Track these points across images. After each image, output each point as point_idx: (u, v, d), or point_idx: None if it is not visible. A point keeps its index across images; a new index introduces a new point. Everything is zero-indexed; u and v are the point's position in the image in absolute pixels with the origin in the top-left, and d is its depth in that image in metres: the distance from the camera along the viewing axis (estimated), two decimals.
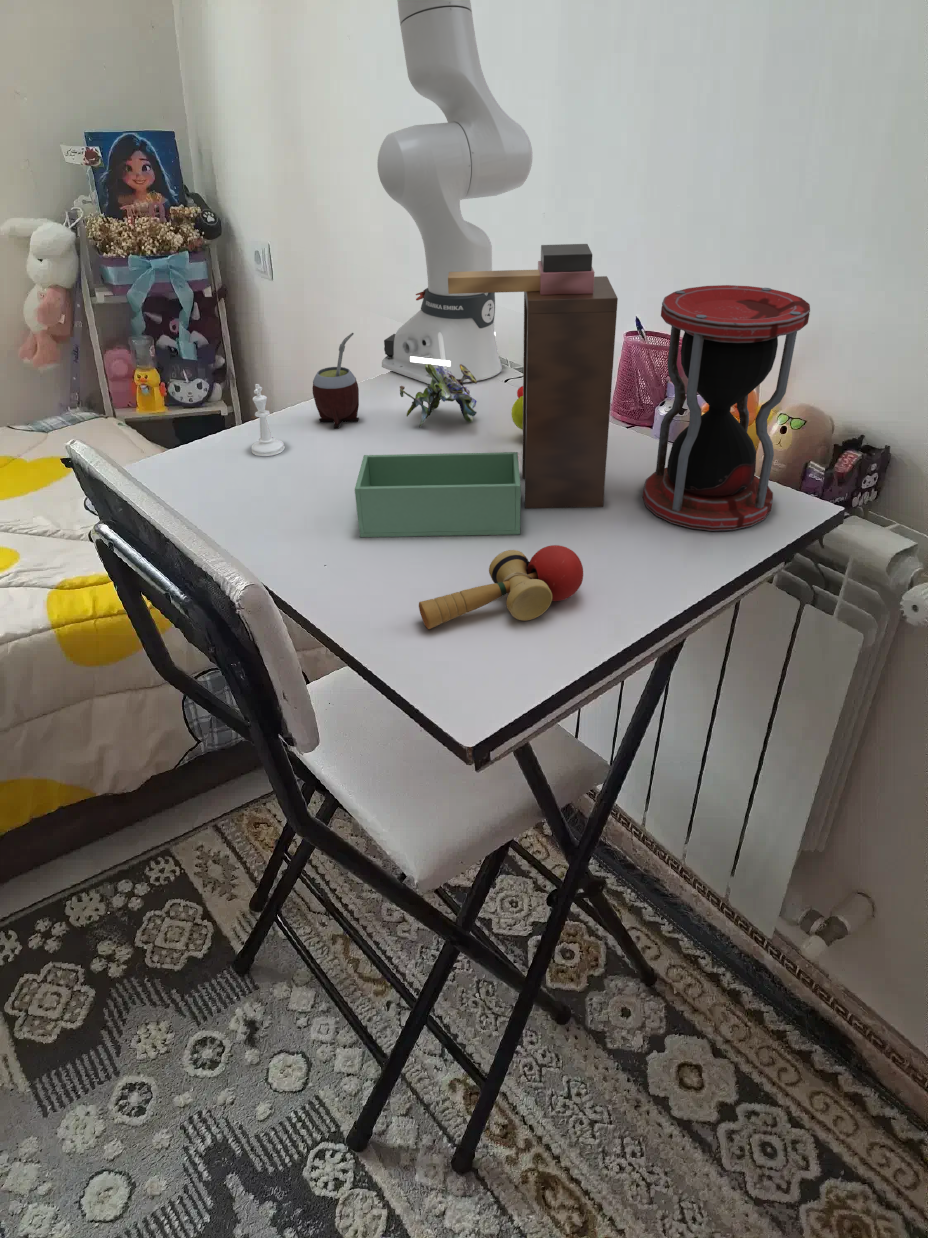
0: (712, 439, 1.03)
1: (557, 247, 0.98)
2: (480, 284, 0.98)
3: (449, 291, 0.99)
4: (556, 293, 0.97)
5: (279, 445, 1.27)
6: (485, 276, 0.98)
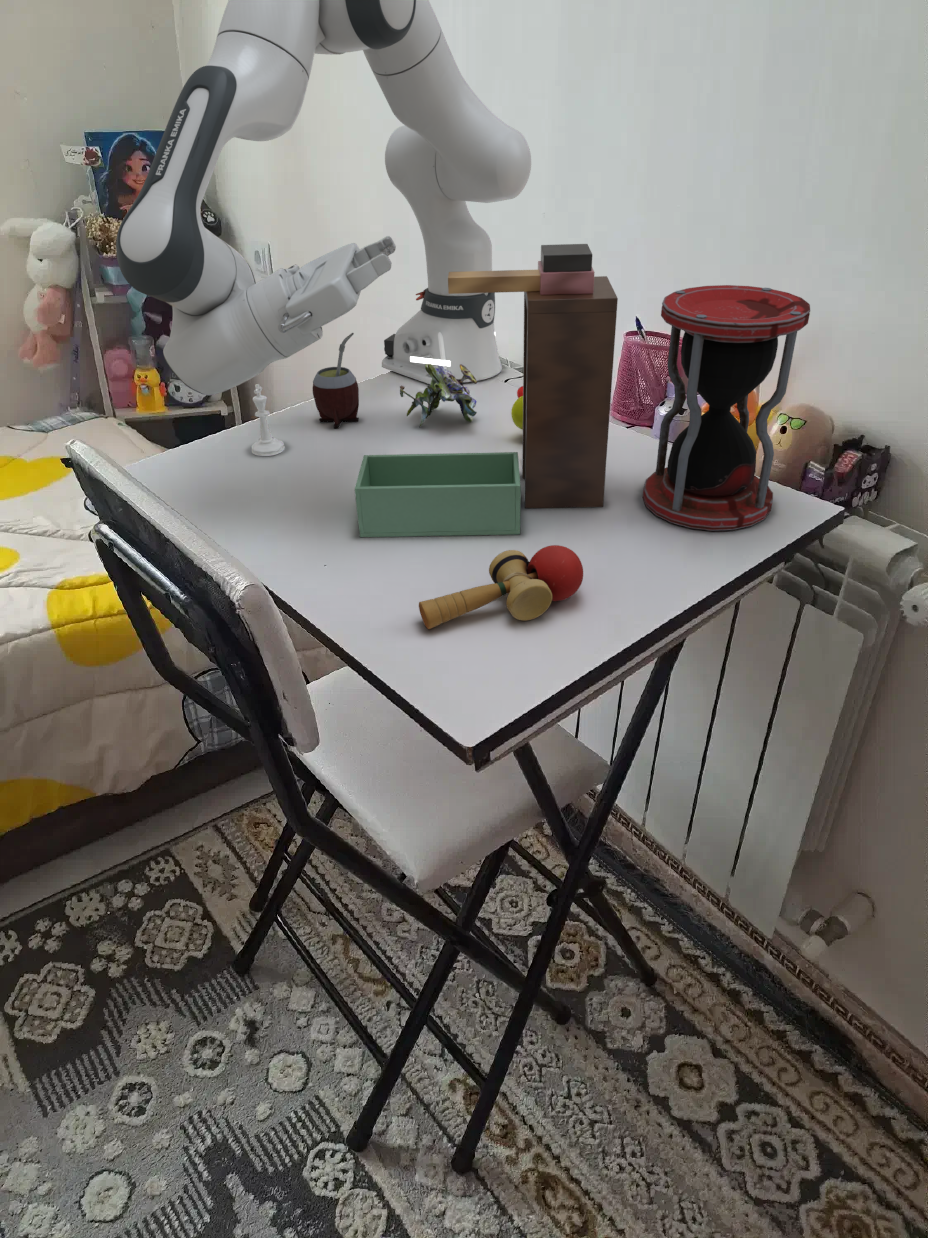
0: (712, 439, 1.03)
1: (557, 247, 0.98)
2: (480, 284, 0.98)
3: (449, 291, 0.99)
4: (556, 293, 0.97)
5: (279, 445, 1.27)
6: (485, 276, 0.98)
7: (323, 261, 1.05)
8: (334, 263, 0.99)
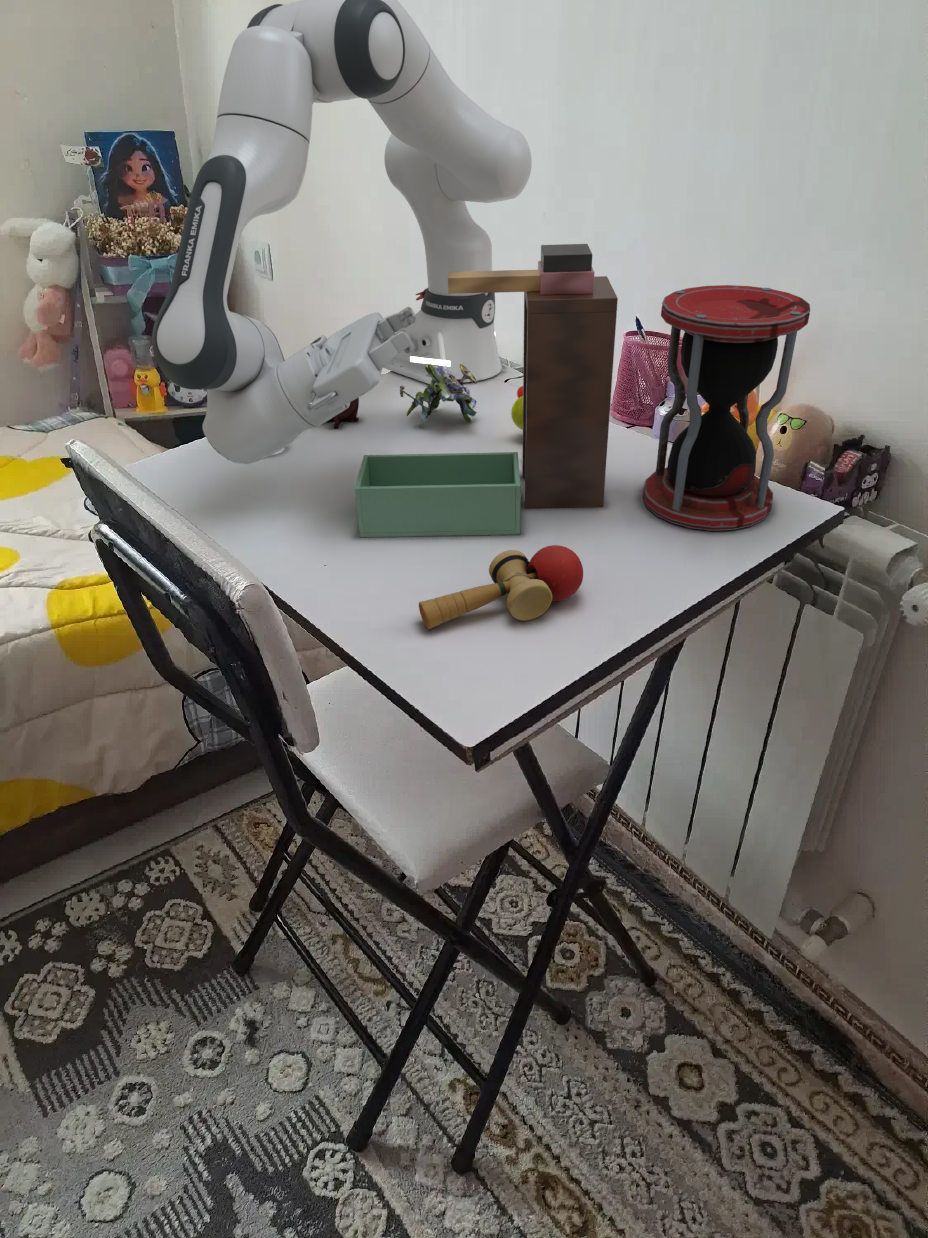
0: (712, 439, 1.03)
1: (557, 247, 0.98)
2: (480, 284, 0.98)
3: (449, 291, 0.99)
4: (556, 293, 0.97)
5: None
6: (485, 276, 0.98)
7: (348, 331, 1.11)
8: (358, 338, 1.04)
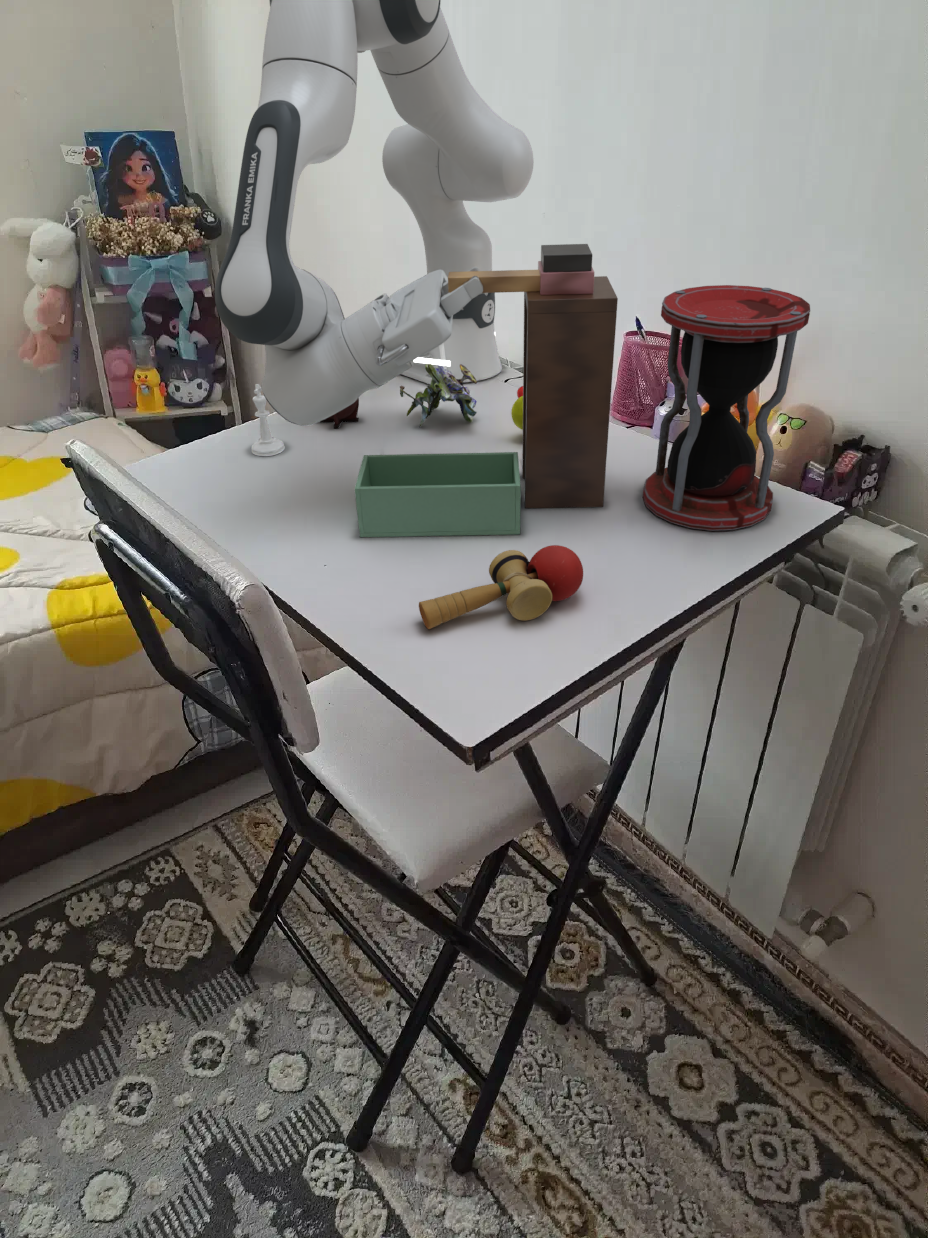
0: (712, 439, 1.03)
1: (557, 247, 0.98)
2: None
3: (449, 291, 0.99)
4: (556, 293, 0.97)
5: (279, 445, 1.27)
6: (485, 276, 0.98)
7: (411, 289, 1.08)
8: (425, 293, 1.01)
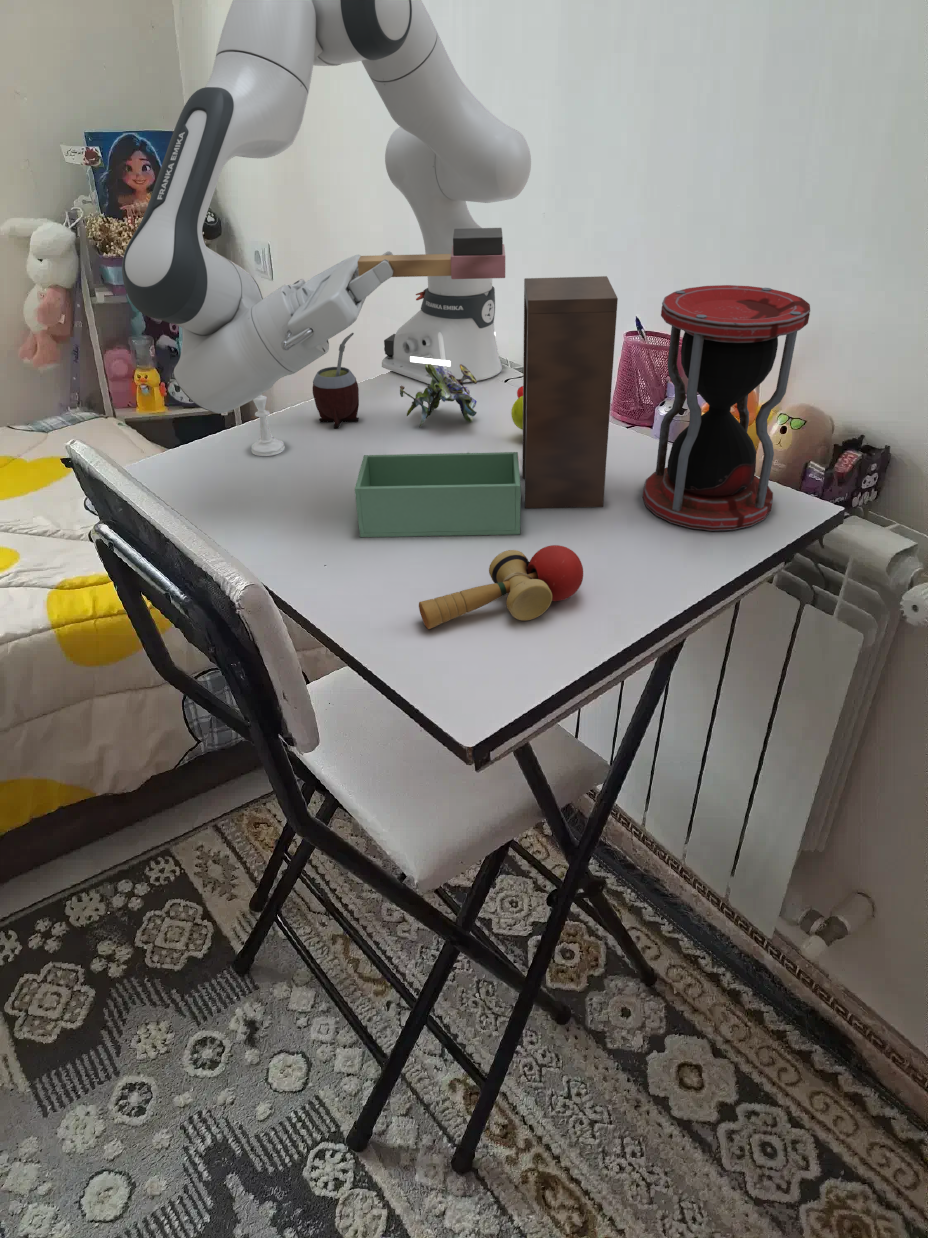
0: (712, 439, 1.03)
1: (469, 231, 0.96)
2: None
3: (359, 275, 0.97)
4: (467, 277, 0.95)
5: (279, 445, 1.27)
6: (395, 260, 0.96)
7: (328, 274, 1.05)
8: (337, 277, 0.99)
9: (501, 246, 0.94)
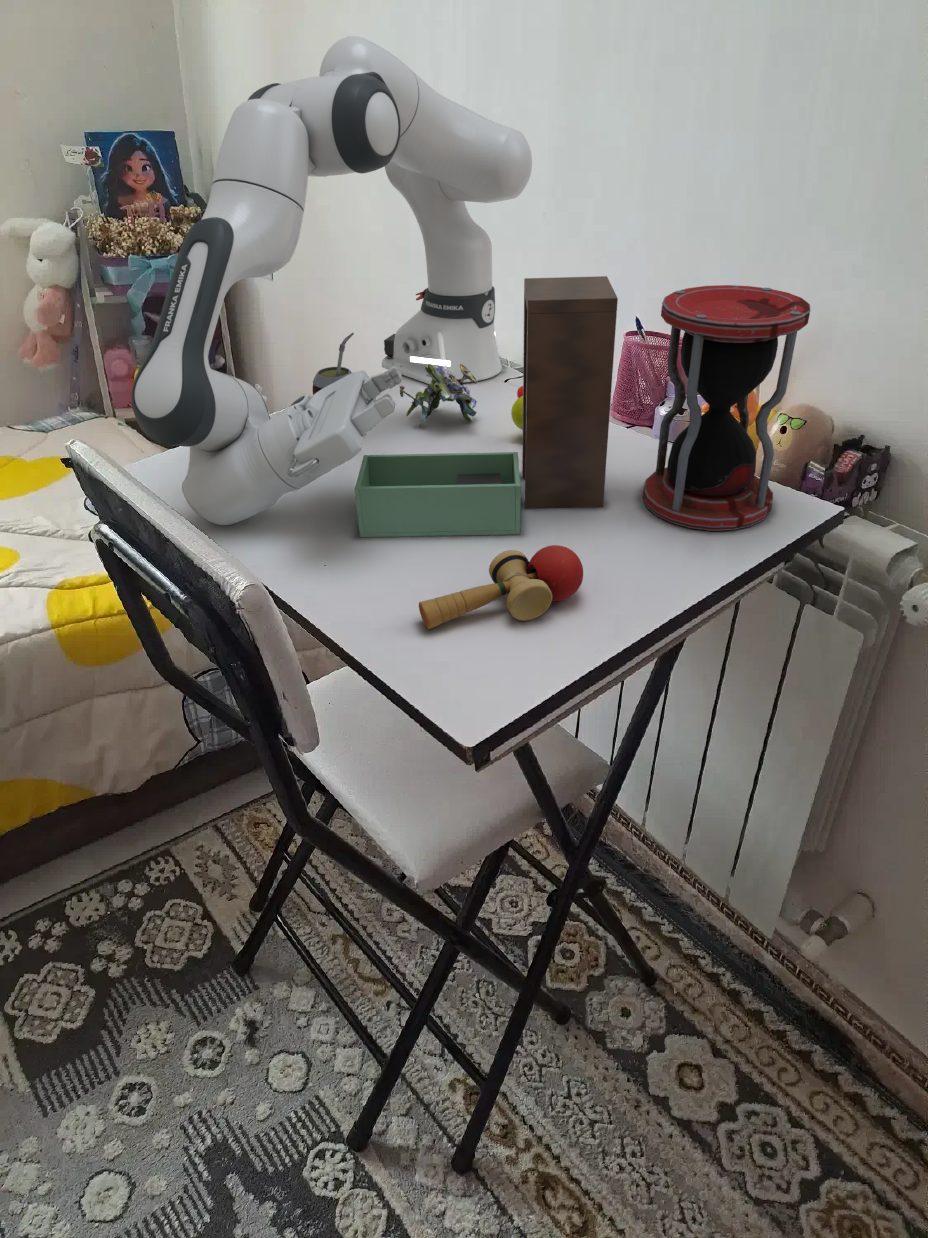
0: (712, 439, 1.03)
1: (472, 479, 1.07)
2: None
3: None
4: None
5: None
6: None
7: (333, 390, 1.08)
8: (341, 399, 1.01)
9: None
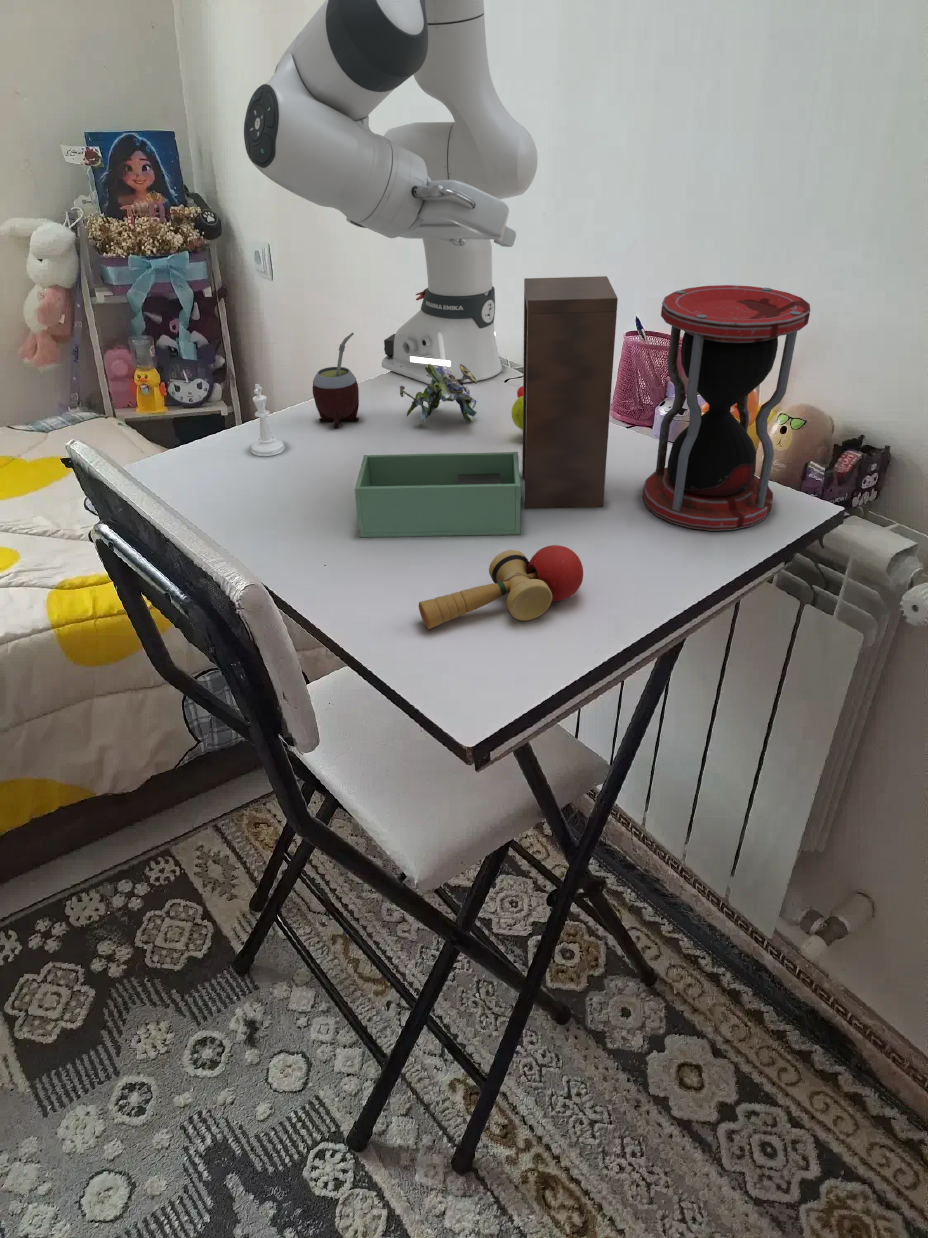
0: (712, 439, 1.03)
1: (472, 479, 1.07)
2: None
3: None
4: None
5: (279, 445, 1.27)
6: None
7: None
8: None
9: None
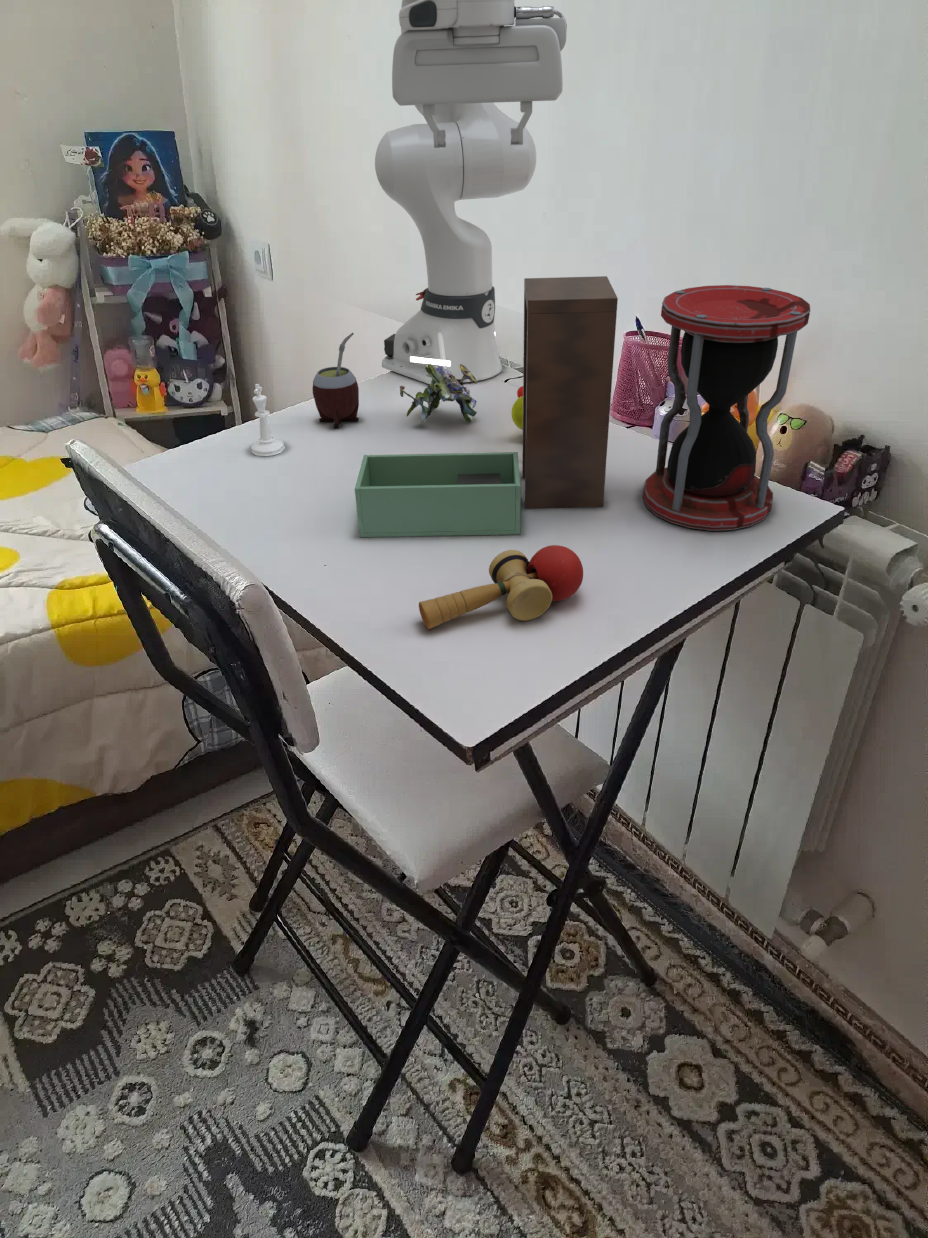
0: (712, 439, 1.03)
1: (472, 479, 1.07)
2: None
3: None
4: None
5: (279, 445, 1.27)
6: None
7: None
8: None
9: None
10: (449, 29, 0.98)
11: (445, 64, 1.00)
